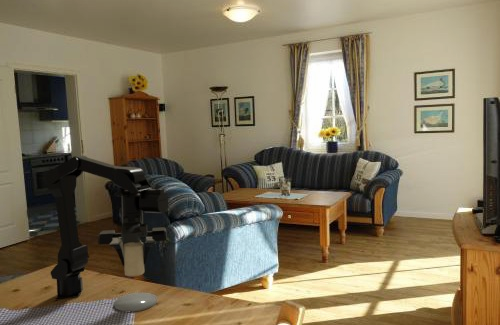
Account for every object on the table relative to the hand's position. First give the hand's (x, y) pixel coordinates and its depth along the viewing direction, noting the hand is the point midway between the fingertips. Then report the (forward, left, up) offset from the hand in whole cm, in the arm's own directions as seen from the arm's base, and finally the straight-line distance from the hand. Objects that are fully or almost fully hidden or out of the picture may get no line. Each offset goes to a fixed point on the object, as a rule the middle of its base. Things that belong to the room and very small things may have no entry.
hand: (134, 264), depth 117 cm
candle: (0, 0, -3) cm, 3 cm away
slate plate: (0, 0, -11) cm, 11 cm away
